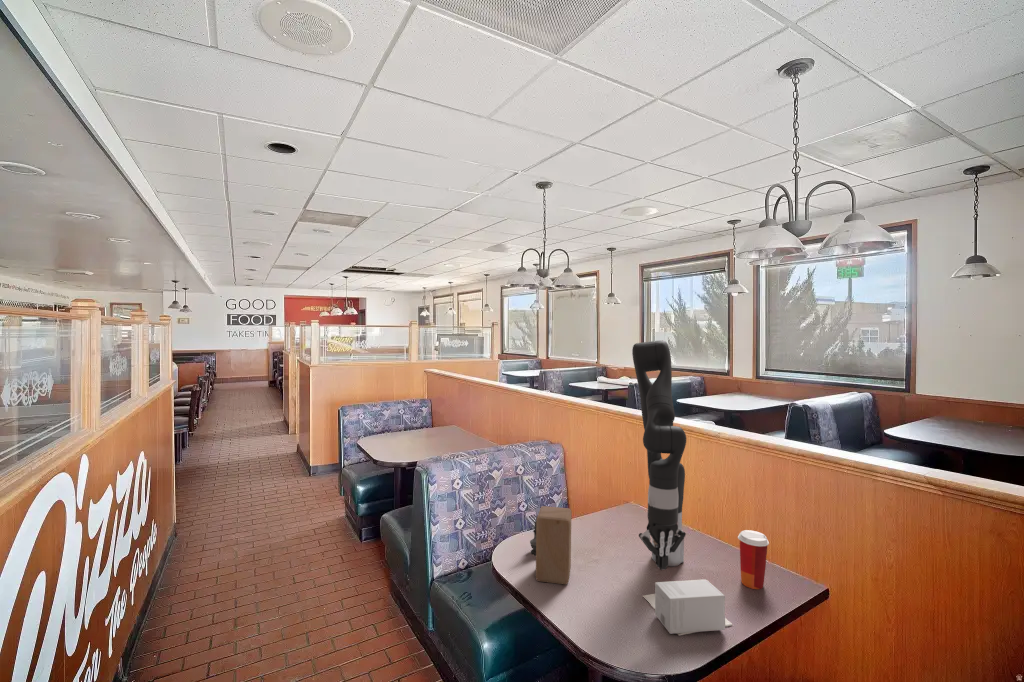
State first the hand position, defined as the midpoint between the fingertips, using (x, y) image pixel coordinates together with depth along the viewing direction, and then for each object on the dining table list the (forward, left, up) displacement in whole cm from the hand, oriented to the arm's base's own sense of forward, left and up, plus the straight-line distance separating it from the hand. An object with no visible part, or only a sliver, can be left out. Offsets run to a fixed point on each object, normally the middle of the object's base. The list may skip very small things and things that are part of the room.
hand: (661, 568), depth 120 cm
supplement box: (0, +1, -10) cm, 10 cm away
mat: (-10, -3, -15) cm, 18 cm away
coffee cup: (-38, -10, -15) cm, 42 cm away
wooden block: (+19, -29, -15) cm, 38 cm away
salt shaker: (+19, -44, -15) cm, 50 cm away
